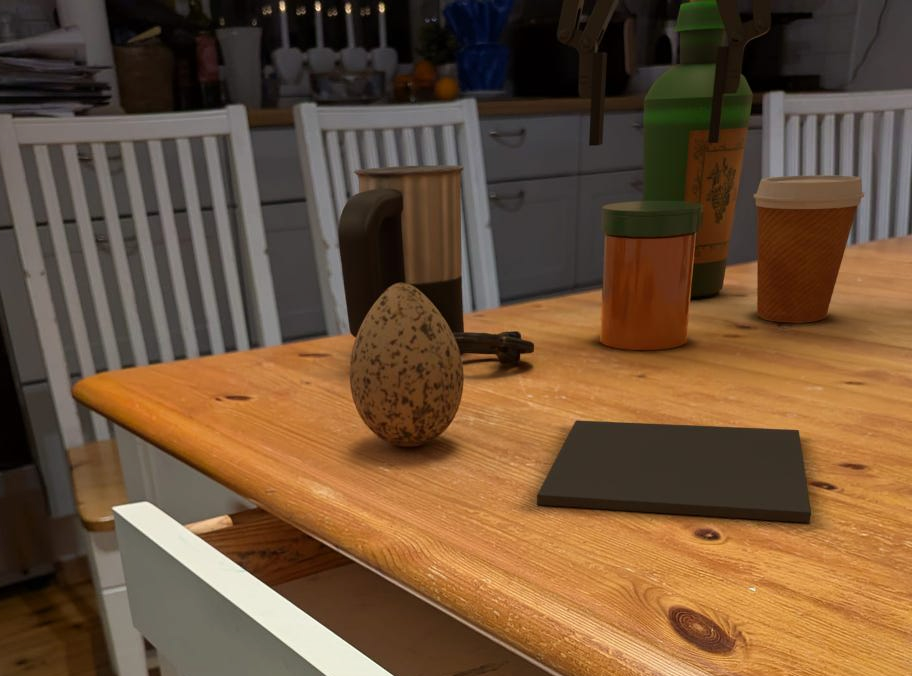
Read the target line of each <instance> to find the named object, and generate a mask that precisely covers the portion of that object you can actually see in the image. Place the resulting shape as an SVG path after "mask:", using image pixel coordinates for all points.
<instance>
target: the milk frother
mask: <svg viewBox="0 0 912 676" xmlns="http://www.w3.org/2000/svg"><path fill="white" fill-rule="evenodd" d="M464 168H465V166H463V165H450V164H449V165H447V164H443V165H441V164H440V165H439V164H437V165H398V166H388V167H386V166H385V167H372V168H363V169H354V171H353V173H354V174H355V175H356V176H357V179H358V193H355V194H353V195H352V196H351V197H350V198H349V199H347V201H346V203H345V204H344V206H343V208H342V210H341V214H340V216H339V223H338V233H337V234H338V235H337V236H338V247H339V256H340V263H341V272H342V273H341V275H342V280H343V289H344V296H345V297H344V298H345V304H346V312H347V320H348V321H347V322H348V328H349V332H350V334H351V335H352V337H353V338H355V339H356V336H357V334H358V331H359V329H360V327H361V325H362V323H363V321H364V319H365V317H366V315H367V314H368V312H369V311H370V309H371V308H372V306H373V305H374V303H375V302H376V301H377V300H378V298H379V297H380V296H381V295H382V294H383V293H384V292H385V291H386V290H387V289H388V288H389V287H390V286H392V285H394V284H396V283H401V282H402V283H407V284H410V285H412V286H414V287H416V288H417V289H418V290H419V291H421V292H422V293H423V294H424V295H425V296H426V297H427V298H428V299H429V300H430V301H431V302H432V303H433V305H434V306H435V307H436V308H437V309H438V311H439V312H440V313H441V315H442V316H443V317H444V319H445V321H446V322H447V324H448V325H449V327H450V329H451V331H452V333H453V335H454V337H455V340H456V342H457V345H458V348H459V352H460V354H471V355H472V354H474V355H495V356H496V357H497V358H498V361H499V363H500V364H502V365H510V364H511V365H512V364H518V363H519V362H520V360H521V355H525V354H533V353H534V352H535V343H534V342H532V341H531V340H526V339H523V338H522V334H521V332H520V331H518V330H514V331H513V330H511V331H502V332H499V333H489V332H471V331H469V332H468V331H467V332H466V331H465V323H464V305H463V304H464V303H463V275H462V273H463V266H462V264H463V263H462V262H463V261H462V260H463V259H462V258H463V257H462V256H463V255H462V203H461V199H462V198H461V173H462V171H464Z"/></svg>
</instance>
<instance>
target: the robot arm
mask: <svg viewBox="0 0 912 676" xmlns="http://www.w3.org/2000/svg"><path fill="white" fill-rule="evenodd" d="M619 1H620V0H596V2H595V4H594V7H593V10H592V11H591V14H590V15H589V17H588V20H587V22H586V25H585V27H584V29H583V30H580V29H579V26H580V22H581V17H582V12H583V7H584V3H585V0H563V2H562V7H561V11H560V16H559V21H558V26H557V31H556V38H557V41H558V42H559V43H561V44H564V45H566V46H568V47H571V48H574V49H575V50H576V51H577V53H578V57H579V59H578V60H579V62H578V88H577V92H578V96H579V98H580V100H581V99H583V100H584V99H590V115H589V117H590V118H589V139H588V146H589V147H591V146H596V147H597V146H601V145H602V144H603V142H604V122H605V121H604V120H605V100H606V82H607V61H608V53H607V52H604V51H599V52H598V50H599V45H600V44H601V41H602V39H603V36H604V35H605V32H606V30H607V28H608V26H609V23H610V21H611V19H612V17H613V14H614V13H615V10H616V8H617V6H618V4H619ZM716 3H717V6H718V9H719V12H720V15H721V18H722V21H723V24H724V27H725V30H726V37H727V45H724V46H723V47H718V48H717V58H716V68H715V78H714V89H713V99H712V109H711V119H710V129H709V139H708V143H718V142H719V134H720V125H721V115H722V105H723V96H724V94H729V93H736V92H737V90H738V88H739V86H740V77H741V74H742V69H743V68H742V67H743V58H744V50H745V47H746V46H747V44H748V43H749V42H750V41H751V40H754V39H756V38H758V37H761V36H763V35H765V34H767V33H768V32H769V31H770V29H771V25H772V11H771V0H751V4H752V19H750V20H748V21H746V22H743V21H742V18H741V16H740V13H739V10H738V6H737V3H736V0H716Z"/></svg>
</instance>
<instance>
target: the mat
mask: <svg viewBox="0 0 912 676" xmlns="http://www.w3.org/2000/svg"><path fill="white" fill-rule="evenodd" d="M536 505H538V506H552V507H553V506H554V507H566V508H567V507H568V508H570V507H571V508H582V509H599V510H612V511H627V512H641V513H656V514H657V513H659V514H660V513H661V514H674V515H687V516H703V517H716V518H717V517H719V518H730V519H731V518H733V519H749V520H760V521H761V520H763V521H778V522H794V523H806V524H807V523H810V522H811V517H812V510H811V509H812V508H811V501H810V496H809V489H808V483H807V477H806V468H805V462H804V455H803V448H802V442H801V436H800V430H799V429H787V428H786V429H785V428H784V429H783V428H764V427H763V428H762V427H761V428H759V427H739V426H717V425H716V426H715V425H695V424H694V425H691V424H673V423H671V424H670V423H648V422H647V423H646V422H623V421H621V422H620V421H603V420H602V421H601V420H578V419H577V420H575V421H574V422H573V425H572V426H571V429H570V430H569V432H568V435H567V436H566V438H565V441H564V442H563V444H562V446H561V448H560V450H559V453H558V454H557V455H556V458H555V459H554V462H553V463H552V465H551V467H550V469H549V471H548V473H547V475H546V477H545V479H544V481H543V483H542V485H541V487H540V488H539V490H538V492H537V495H536Z"/></svg>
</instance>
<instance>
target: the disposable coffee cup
mask: <svg viewBox="0 0 912 676" xmlns="http://www.w3.org/2000/svg"><path fill="white" fill-rule="evenodd" d="M865 195H866V194H865V192H863V180H862V177H860V176H851V175H830V174H829V175H827V174H826V175H825V174H824V175H822V174H821V175H819V174H818V175H816V174H815V175H813V174H811V175H810V174H809V175H787V176H786V175H785V176H784V175H783V176H774V177H773V176H772V177H767V178H761V179H760V182H759V184H758V188H757V191H756V193H754V194H753V199H755V206H757V207H756V210H757V217H756V218H757V222H756V223H757V230H756V231H757V232H756V233H757V234H756V235H757V252H756V253H757V254H756V255H757V262H756V263H757V265H756V267H757V269H756V271H757V273H756V275H757V278H756V279H757V281H756V283H757V285H756V286H757V287H756V288H757V289H756V291H757V292H756V294H757V295H756V296H757V297H756V300H757V302H756V303H757V307H756V309H757V310H756V316H757V317H758V318H760V319H762V320H766V321H772V322H778V323H797V324H798V323H810V322H811V323H812V322H817V321H821V320H825V318H827V314H828V311H829V307H830V304H831V300H832V296H833V294H834V289H835V287H836V283H837V279H838V275H839V273H840V269H841V265H842V263H843V262H842V261H843V259H844V255H845V251H846V248H847V244H848V240H849V238H850V233H851V230H852V226H853V223H854V219H855V216H856V212H857V209H858V206H859V205H861V202H862V198H864V197H865Z"/></svg>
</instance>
